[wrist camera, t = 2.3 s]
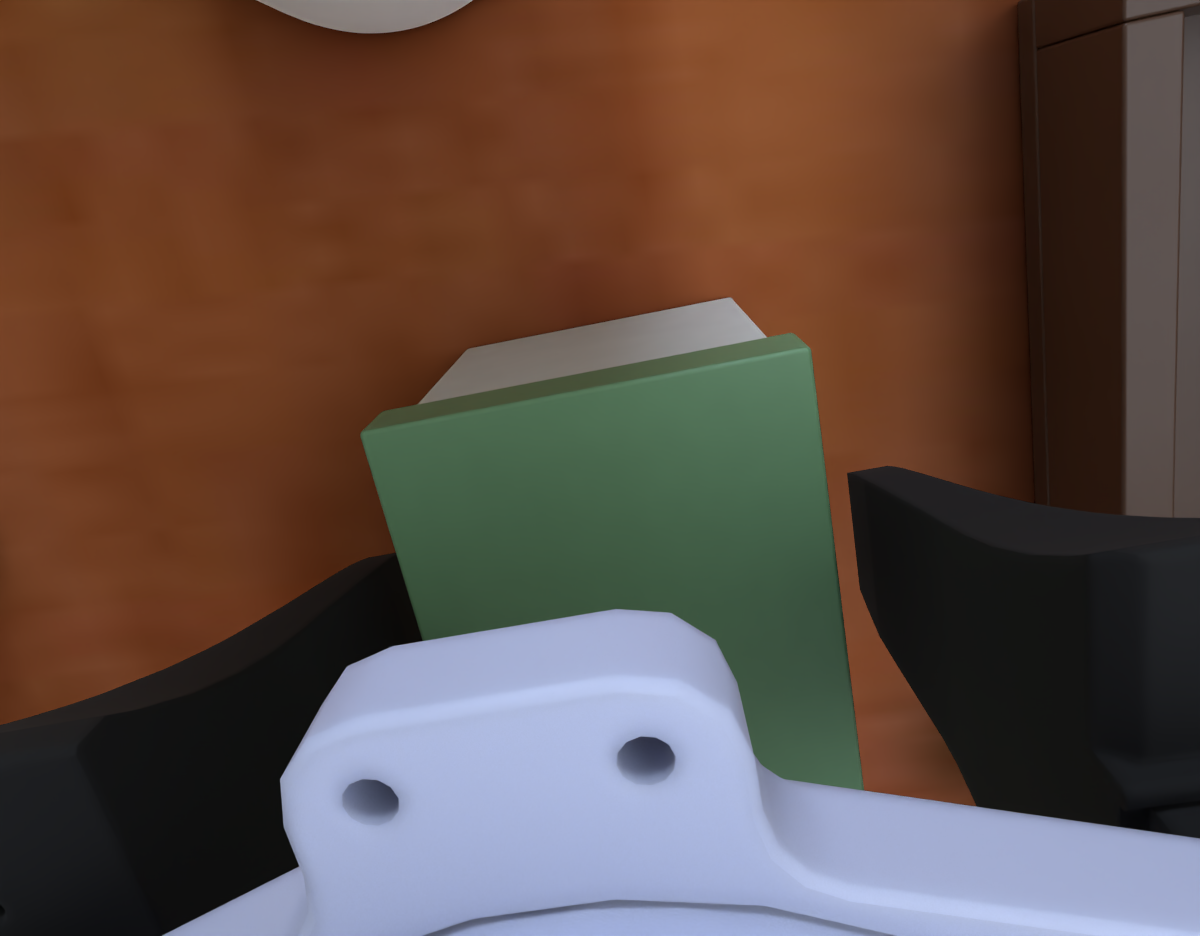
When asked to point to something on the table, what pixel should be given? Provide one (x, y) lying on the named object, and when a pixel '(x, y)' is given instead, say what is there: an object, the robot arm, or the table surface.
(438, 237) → the table surface
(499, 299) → the table surface
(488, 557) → the container
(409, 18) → the can
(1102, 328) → the tray
